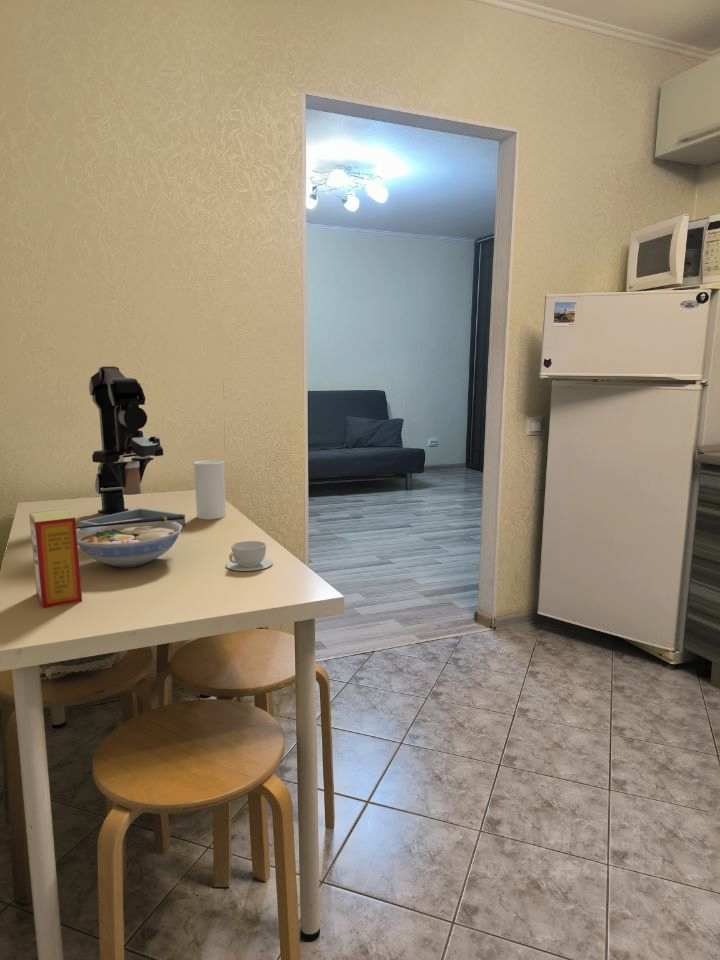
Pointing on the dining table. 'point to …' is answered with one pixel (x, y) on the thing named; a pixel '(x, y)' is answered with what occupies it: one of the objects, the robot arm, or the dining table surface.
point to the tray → (131, 517)
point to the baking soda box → (55, 557)
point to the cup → (210, 489)
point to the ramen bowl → (129, 540)
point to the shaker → (132, 478)
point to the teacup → (248, 556)
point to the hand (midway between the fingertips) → (131, 485)
